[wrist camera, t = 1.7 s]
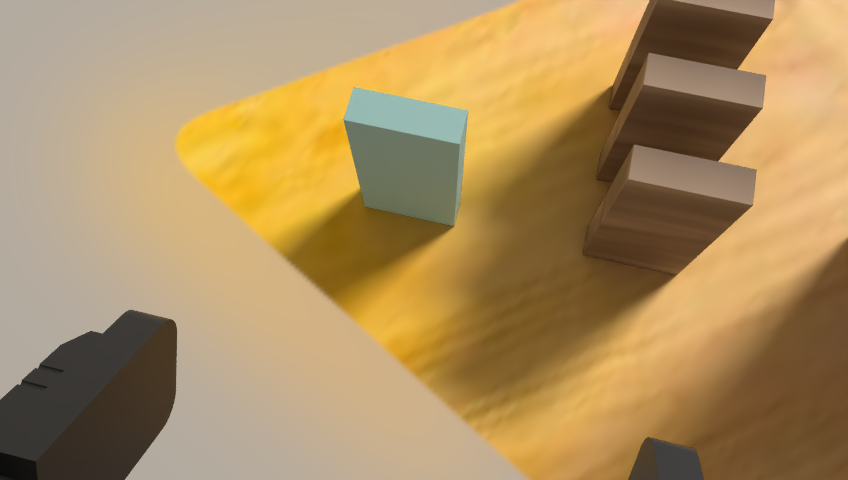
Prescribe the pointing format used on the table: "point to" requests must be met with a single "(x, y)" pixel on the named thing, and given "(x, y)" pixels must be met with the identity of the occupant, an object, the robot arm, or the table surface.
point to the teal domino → (407, 154)
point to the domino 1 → (693, 36)
